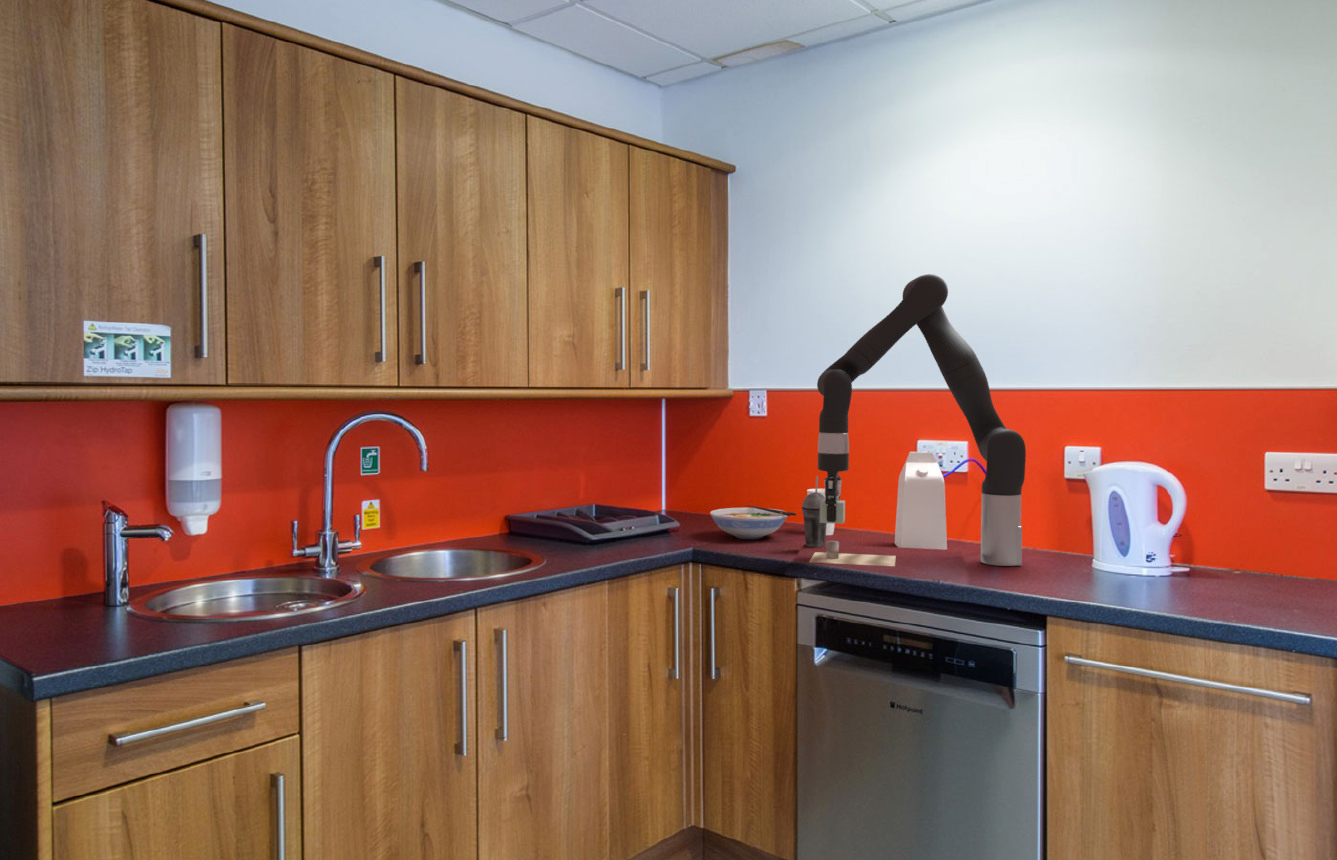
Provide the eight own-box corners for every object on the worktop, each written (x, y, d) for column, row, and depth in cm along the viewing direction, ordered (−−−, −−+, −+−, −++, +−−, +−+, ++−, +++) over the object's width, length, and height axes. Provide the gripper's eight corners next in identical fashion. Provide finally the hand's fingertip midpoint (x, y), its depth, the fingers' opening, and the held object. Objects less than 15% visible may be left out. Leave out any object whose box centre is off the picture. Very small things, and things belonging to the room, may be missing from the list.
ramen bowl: (694, 534, 271) (694, 506, 270) (760, 529, 280) (760, 502, 280) (735, 547, 248) (735, 517, 248) (806, 541, 258) (806, 512, 257)
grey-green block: (844, 520, 225) (845, 500, 225) (843, 523, 219) (843, 503, 219) (822, 519, 226) (822, 499, 226) (819, 522, 221) (819, 502, 221)
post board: (895, 561, 226) (896, 539, 226) (894, 572, 213) (894, 549, 212) (814, 558, 231) (815, 536, 231) (808, 568, 218) (809, 545, 218)
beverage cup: (797, 552, 240) (797, 476, 239) (806, 548, 246) (807, 474, 245) (824, 554, 236) (824, 478, 236) (832, 550, 243) (833, 475, 242)
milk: (938, 544, 253) (939, 450, 252) (947, 551, 241) (948, 453, 240) (894, 543, 254) (895, 450, 253) (901, 550, 243) (902, 453, 242)
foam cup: (801, 532, 275) (801, 489, 274) (829, 530, 277) (829, 488, 277) (815, 536, 266) (816, 492, 265) (844, 535, 268) (844, 491, 268)
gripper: (846, 453, 214) (845, 524, 215) (850, 449, 228) (850, 516, 229) (814, 452, 216) (813, 523, 217) (820, 449, 230) (820, 515, 231)
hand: (832, 519), depth 223 cm, fingers closed on grey-green block, 5 cm apart
